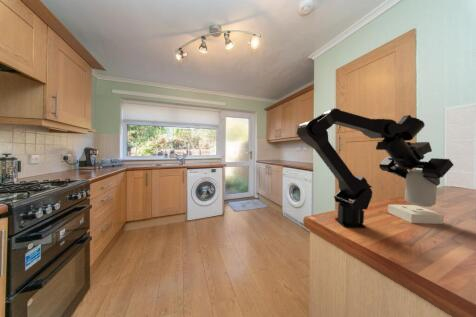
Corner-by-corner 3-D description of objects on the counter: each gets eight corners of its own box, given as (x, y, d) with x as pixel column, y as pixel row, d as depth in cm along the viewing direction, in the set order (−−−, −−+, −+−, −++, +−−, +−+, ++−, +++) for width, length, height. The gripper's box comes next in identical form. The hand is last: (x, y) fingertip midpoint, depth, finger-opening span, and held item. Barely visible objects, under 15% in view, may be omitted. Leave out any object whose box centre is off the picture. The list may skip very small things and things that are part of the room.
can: (442, 207, 58) (445, 171, 57) (421, 207, 57) (424, 171, 56) (417, 200, 65) (419, 168, 64) (398, 200, 64) (400, 168, 64)
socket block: (411, 222, 58) (411, 214, 58) (387, 212, 68) (388, 204, 68) (443, 223, 58) (443, 214, 58) (415, 212, 68) (415, 205, 68)
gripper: (451, 131, 50) (479, 169, 52) (387, 135, 68) (409, 163, 70) (425, 158, 49) (454, 195, 51) (368, 155, 68) (391, 183, 70)
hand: (424, 182), depth 61 cm, fingers closed on can, 7 cm apart
